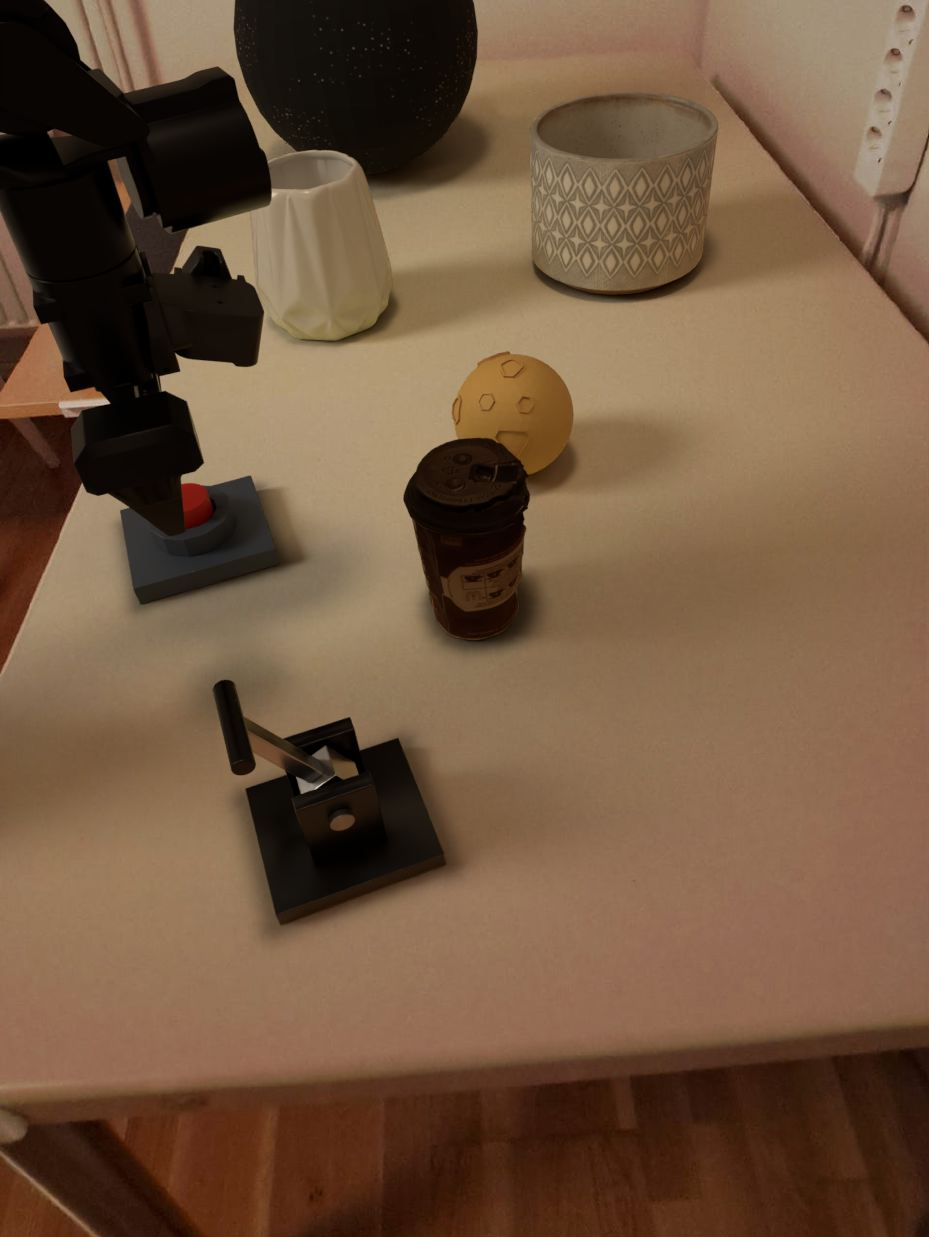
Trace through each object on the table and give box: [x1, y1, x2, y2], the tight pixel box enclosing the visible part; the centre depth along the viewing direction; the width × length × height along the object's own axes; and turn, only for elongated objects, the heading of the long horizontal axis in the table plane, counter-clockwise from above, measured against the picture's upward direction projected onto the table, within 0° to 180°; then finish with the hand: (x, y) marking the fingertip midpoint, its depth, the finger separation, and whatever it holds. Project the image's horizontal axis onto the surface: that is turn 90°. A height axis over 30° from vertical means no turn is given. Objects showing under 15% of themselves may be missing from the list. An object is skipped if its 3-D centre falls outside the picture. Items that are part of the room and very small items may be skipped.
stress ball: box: [451, 350, 574, 476], centre depth 77 cm, size 10×10×10 cm
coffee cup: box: [402, 438, 531, 641], centre depth 64 cm, size 9×8×13 cm
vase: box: [249, 150, 394, 342], centre depth 94 cm, size 14×14×15 cm
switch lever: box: [212, 679, 359, 794], centre depth 50 cm, size 10×6×2 cm
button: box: [181, 482, 213, 529], centre depth 73 cm, size 4×4×2 cm
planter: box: [529, 91, 719, 296], centre depth 99 cm, size 19×19×14 cm
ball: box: [233, 0, 479, 175], centre depth 117 cm, size 30×30×30 cm
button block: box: [119, 474, 281, 605], centre depth 75 cm, size 11×10×4 cm
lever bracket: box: [244, 716, 447, 926], centre depth 54 cm, size 10×9×7 cm
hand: (168, 489), depth 60 cm, fingers open, 9 cm apart
